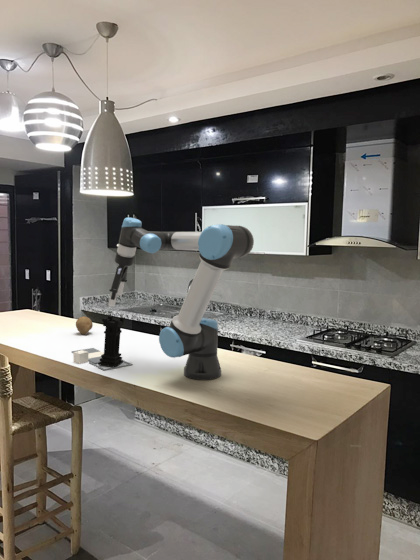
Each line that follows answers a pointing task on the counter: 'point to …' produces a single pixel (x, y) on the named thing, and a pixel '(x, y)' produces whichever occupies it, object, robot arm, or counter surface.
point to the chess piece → (112, 342)
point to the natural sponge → (84, 324)
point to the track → (93, 355)
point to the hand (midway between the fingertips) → (115, 300)
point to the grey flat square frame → (113, 367)
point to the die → (80, 356)
